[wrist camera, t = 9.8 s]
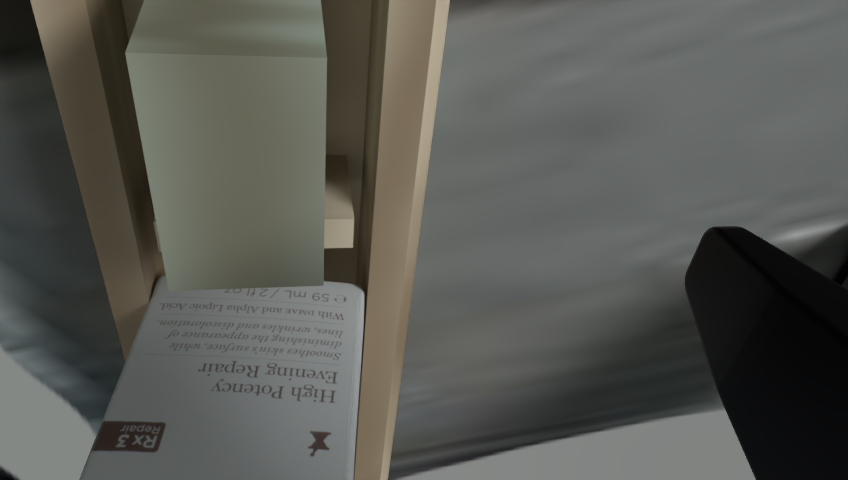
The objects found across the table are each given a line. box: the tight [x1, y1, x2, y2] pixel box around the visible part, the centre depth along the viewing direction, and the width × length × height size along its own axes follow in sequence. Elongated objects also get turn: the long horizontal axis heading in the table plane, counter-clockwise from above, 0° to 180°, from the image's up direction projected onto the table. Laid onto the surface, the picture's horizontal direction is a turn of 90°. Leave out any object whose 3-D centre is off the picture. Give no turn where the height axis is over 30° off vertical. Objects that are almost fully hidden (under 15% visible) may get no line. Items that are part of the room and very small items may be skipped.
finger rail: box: [30, 0, 450, 480], centre depth 21 cm, size 10×28×8 cm, turn 174°
